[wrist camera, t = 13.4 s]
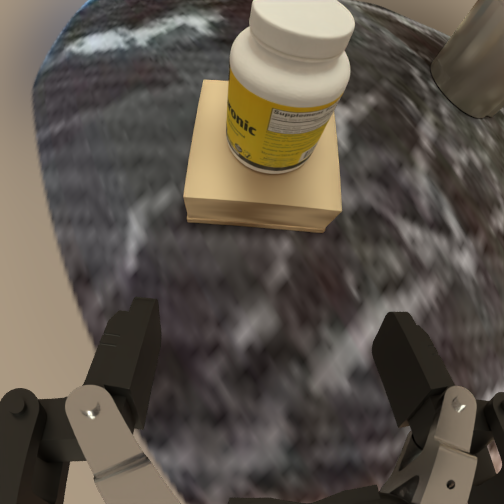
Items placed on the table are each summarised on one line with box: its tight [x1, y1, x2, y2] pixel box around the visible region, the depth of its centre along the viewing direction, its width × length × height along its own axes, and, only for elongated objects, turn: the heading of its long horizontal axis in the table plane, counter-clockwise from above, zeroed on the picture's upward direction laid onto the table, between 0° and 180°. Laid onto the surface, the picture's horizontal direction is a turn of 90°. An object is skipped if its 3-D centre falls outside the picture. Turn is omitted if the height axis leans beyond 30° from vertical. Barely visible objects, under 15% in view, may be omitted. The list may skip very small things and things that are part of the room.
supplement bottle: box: [226, 0, 355, 174], centre depth 14 cm, size 5×5×10 cm
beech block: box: [183, 80, 342, 233], centre depth 21 cm, size 9×9×4 cm
